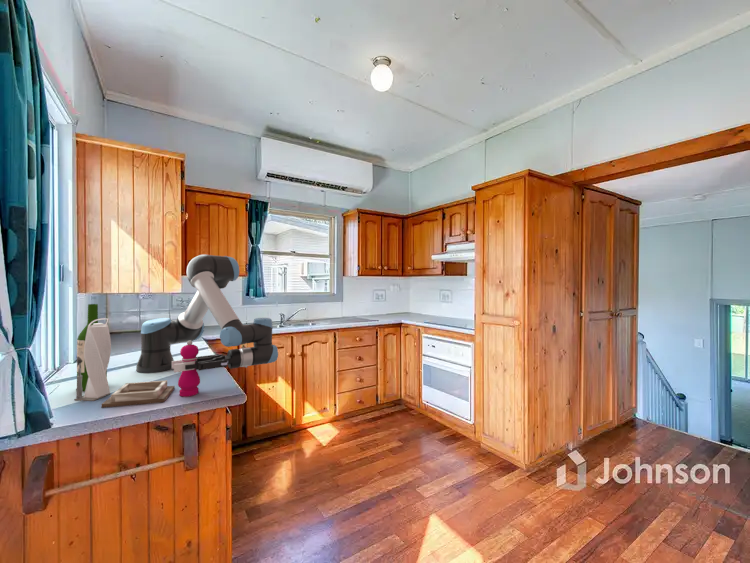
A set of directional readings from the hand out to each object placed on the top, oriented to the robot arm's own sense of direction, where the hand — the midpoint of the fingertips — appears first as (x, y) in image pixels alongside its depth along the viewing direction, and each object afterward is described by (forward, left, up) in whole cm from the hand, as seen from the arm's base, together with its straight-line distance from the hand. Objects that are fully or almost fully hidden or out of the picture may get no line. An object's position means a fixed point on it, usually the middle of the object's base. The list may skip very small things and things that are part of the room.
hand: (173, 366), depth 122 cm
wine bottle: (-20, -32, -11) cm, 39 cm away
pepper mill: (-2, +5, -11) cm, 12 cm away
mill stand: (-2, -11, -11) cm, 15 cm away
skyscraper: (-8, -26, -11) cm, 29 cm away
